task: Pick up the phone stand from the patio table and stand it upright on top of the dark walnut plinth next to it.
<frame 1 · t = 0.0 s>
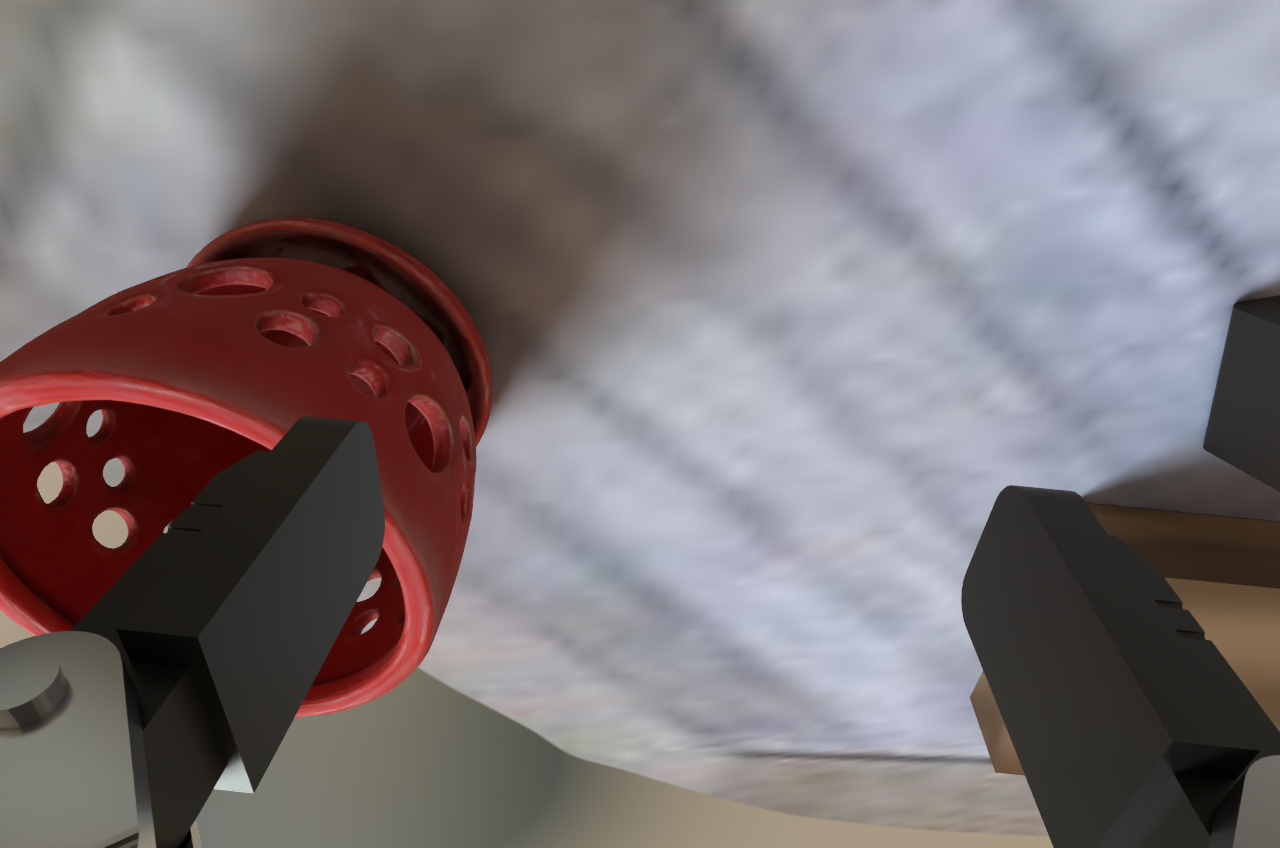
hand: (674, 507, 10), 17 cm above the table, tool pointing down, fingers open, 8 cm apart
plant pot: (360, 357, 29), on the table
walnut plinth: (1158, 624, 34), on the table
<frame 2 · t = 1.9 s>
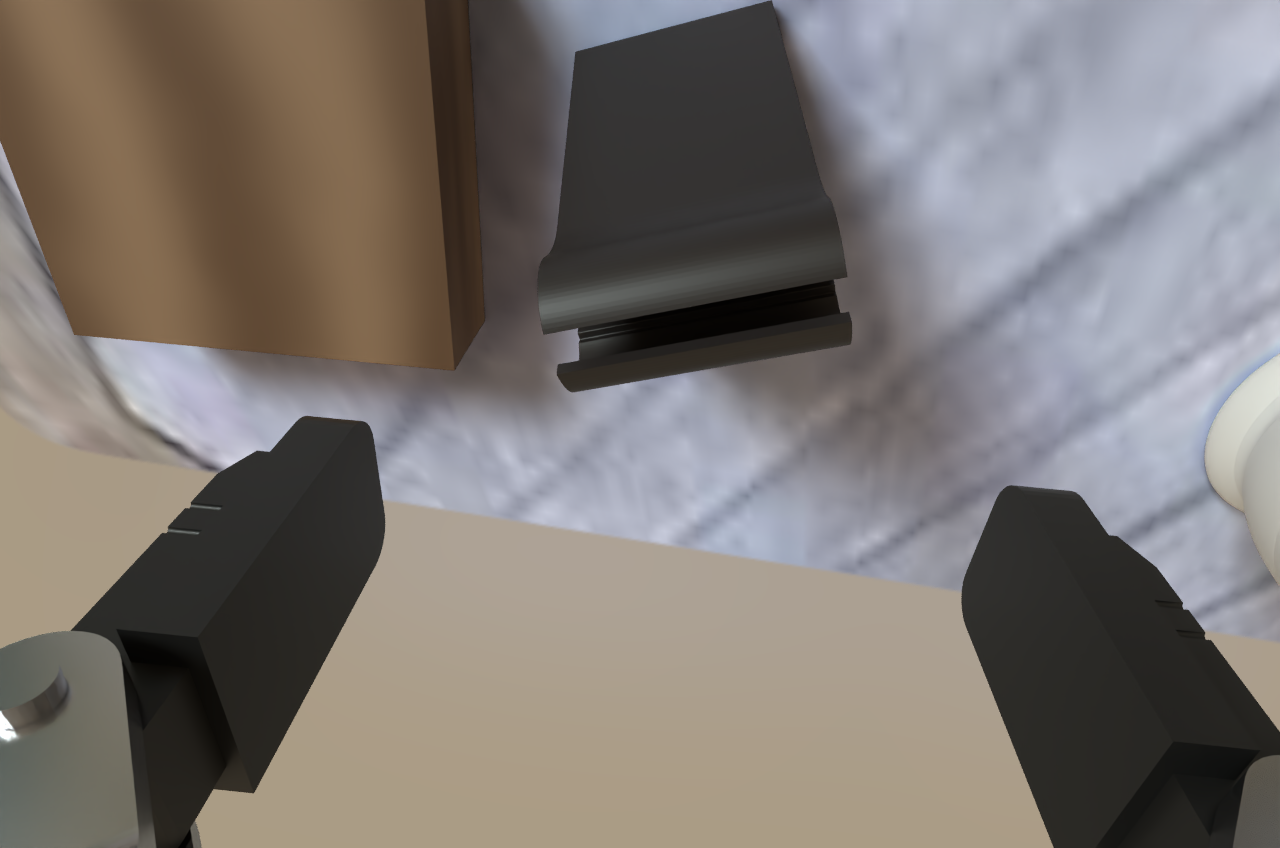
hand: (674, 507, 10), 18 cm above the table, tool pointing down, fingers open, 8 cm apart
phone stand: (700, 173, 25), on the table
walnut plinth: (282, 124, 25), on the table
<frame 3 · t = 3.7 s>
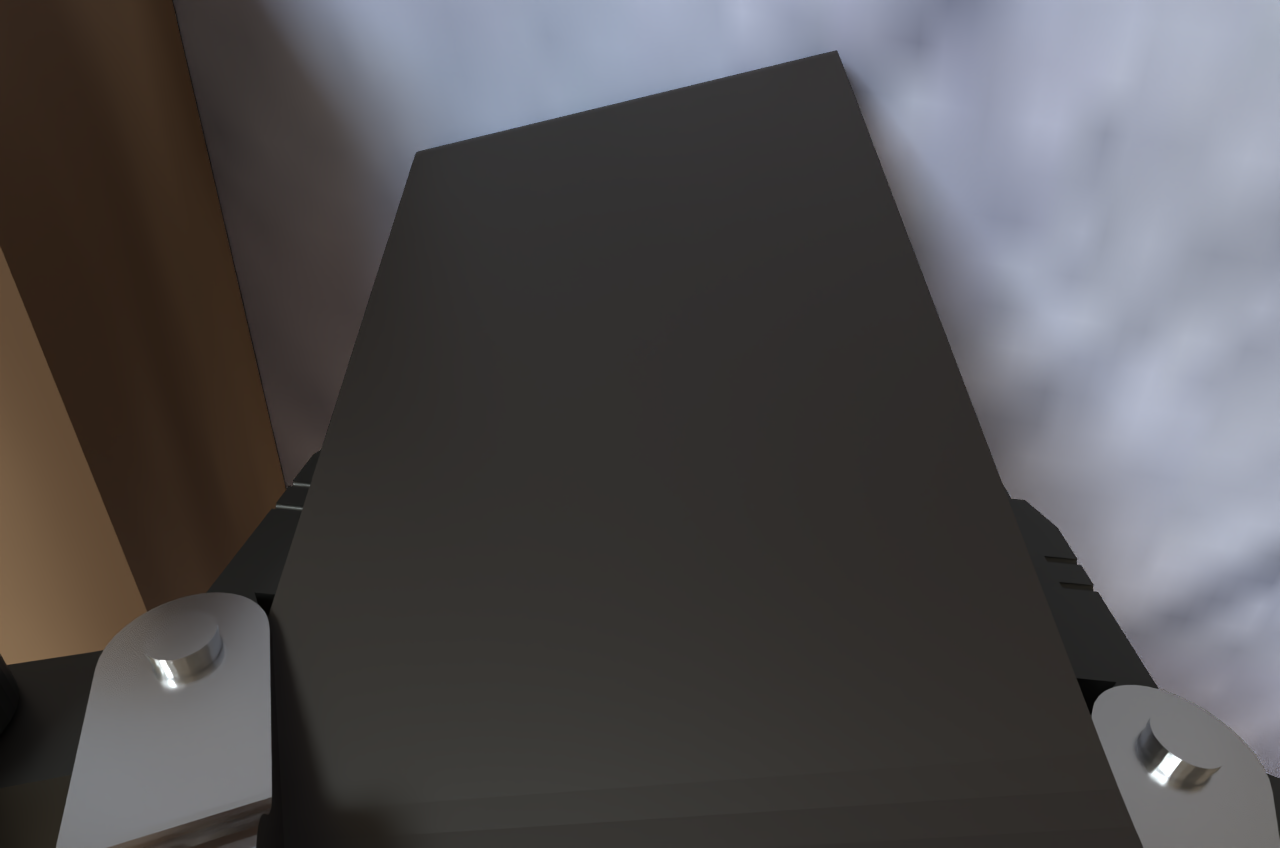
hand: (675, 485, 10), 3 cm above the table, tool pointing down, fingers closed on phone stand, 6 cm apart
phone stand: (681, 368, 13), on the table, touching gripper
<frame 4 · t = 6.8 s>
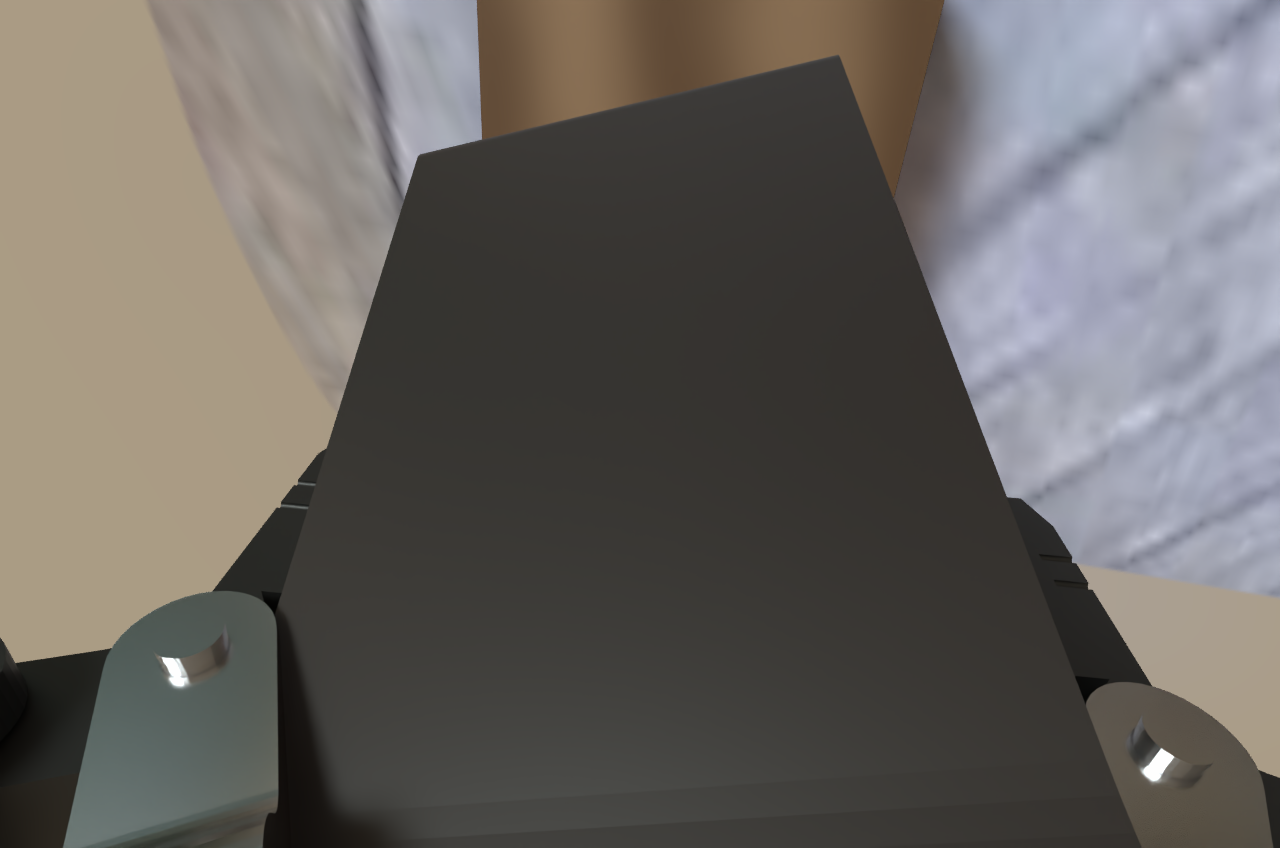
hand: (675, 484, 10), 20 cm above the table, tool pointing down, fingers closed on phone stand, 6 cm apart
phone stand: (683, 370, 13), point 17 cm above the table, touching gripper
walnut plinth: (689, 149, 27), on the table
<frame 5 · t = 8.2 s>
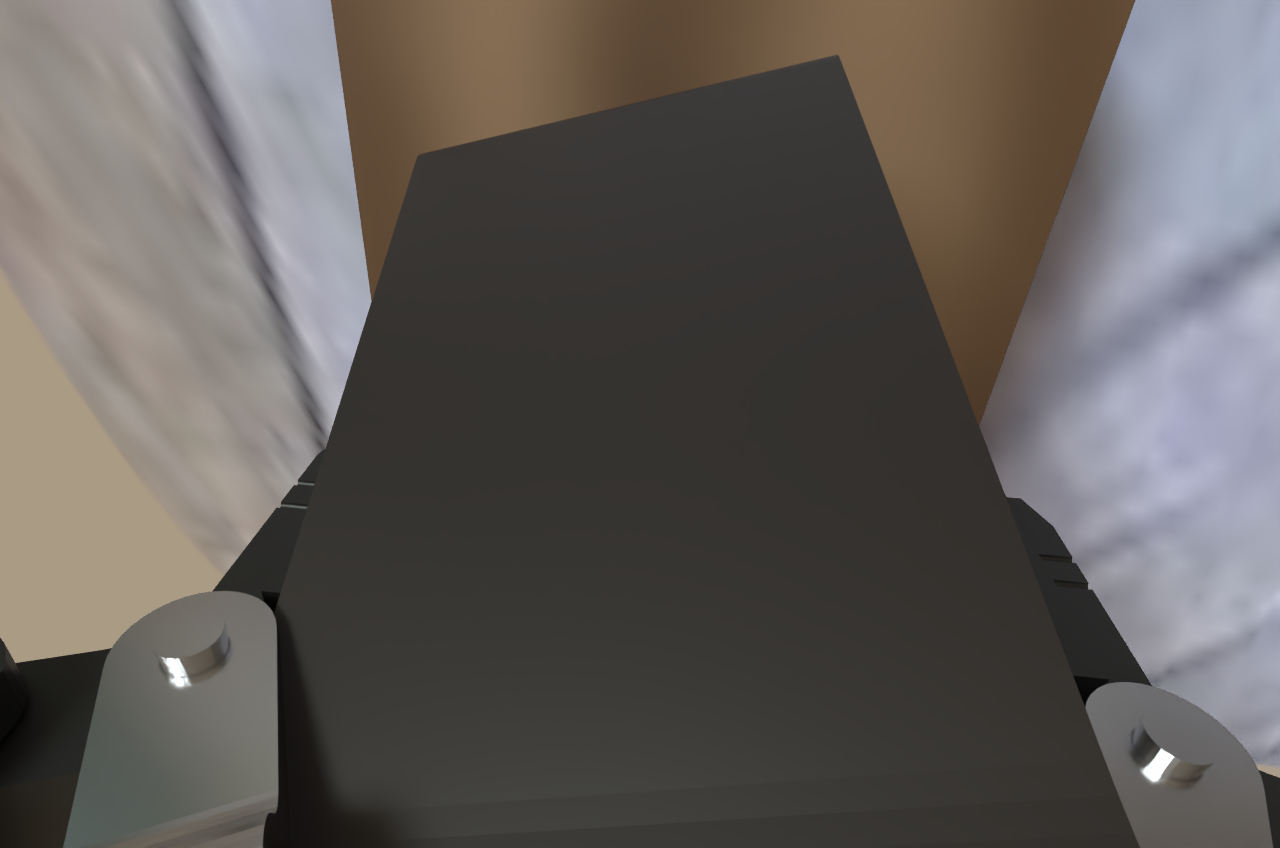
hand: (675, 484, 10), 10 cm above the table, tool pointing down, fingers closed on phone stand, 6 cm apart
phone stand: (682, 370, 13), point 6 cm above the table, touching gripper
walnut plinth: (688, 251, 18), on the table
when the fingers open (8 cm above the table, at t = 9.4 s): phone stand drops 1 cm, resting on walnut plinth.
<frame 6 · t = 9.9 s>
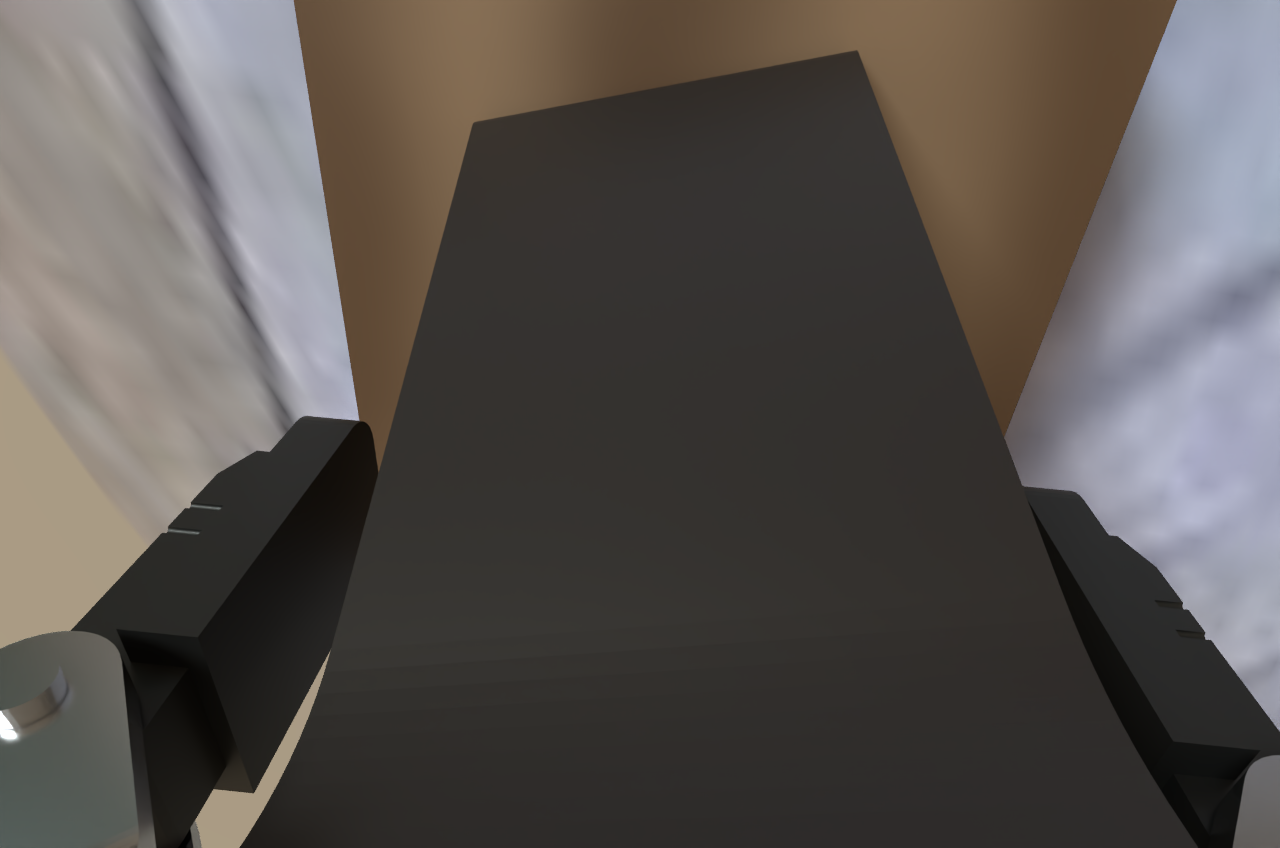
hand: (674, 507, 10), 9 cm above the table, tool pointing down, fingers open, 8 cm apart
phone stand: (698, 335, 14), point 4 cm above the table, touching walnut plinth
walnut plinth: (686, 263, 17), on the table
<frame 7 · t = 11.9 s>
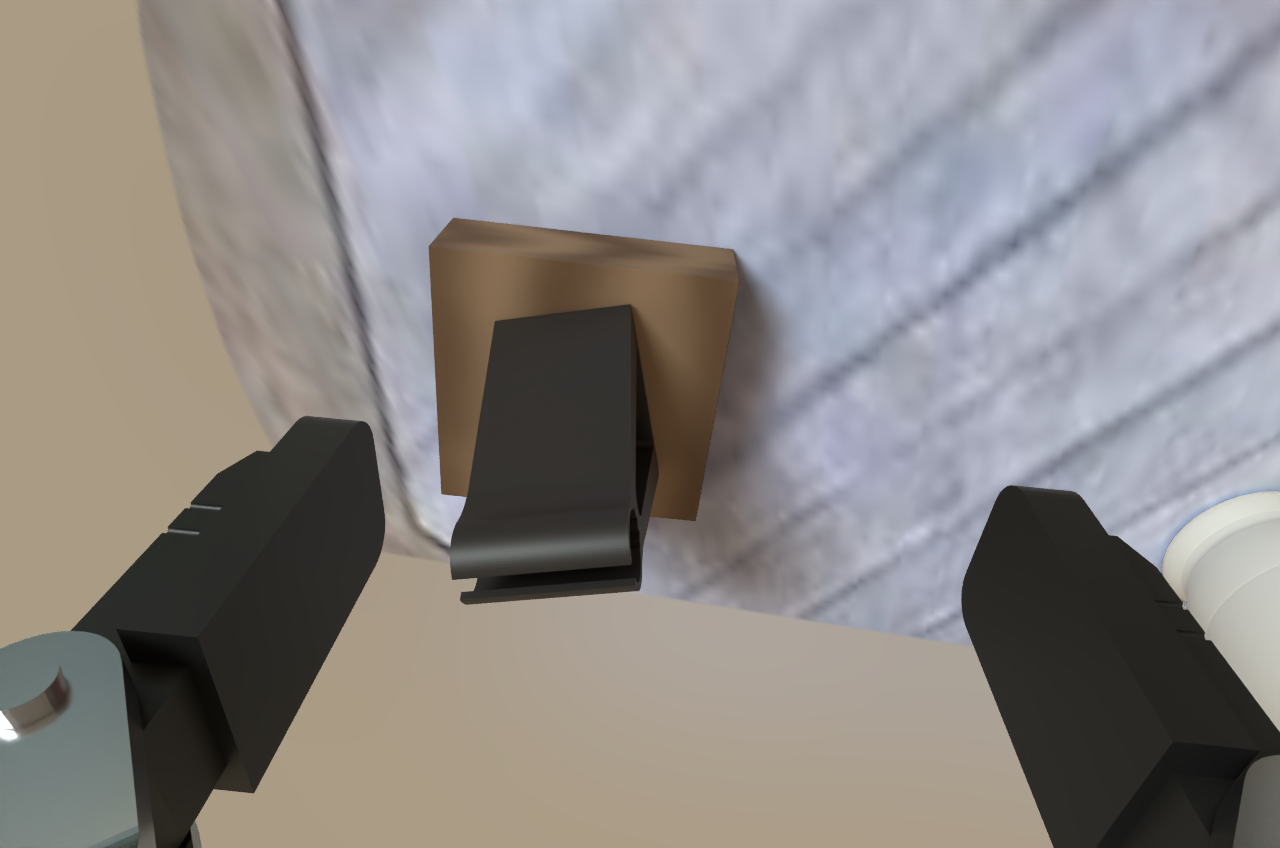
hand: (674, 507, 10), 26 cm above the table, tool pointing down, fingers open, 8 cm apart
jar: (1235, 544, 43), on the table
phone stand: (582, 396, 35), point 4 cm above the table, touching walnut plinth
walnut plinth: (585, 358, 38), on the table
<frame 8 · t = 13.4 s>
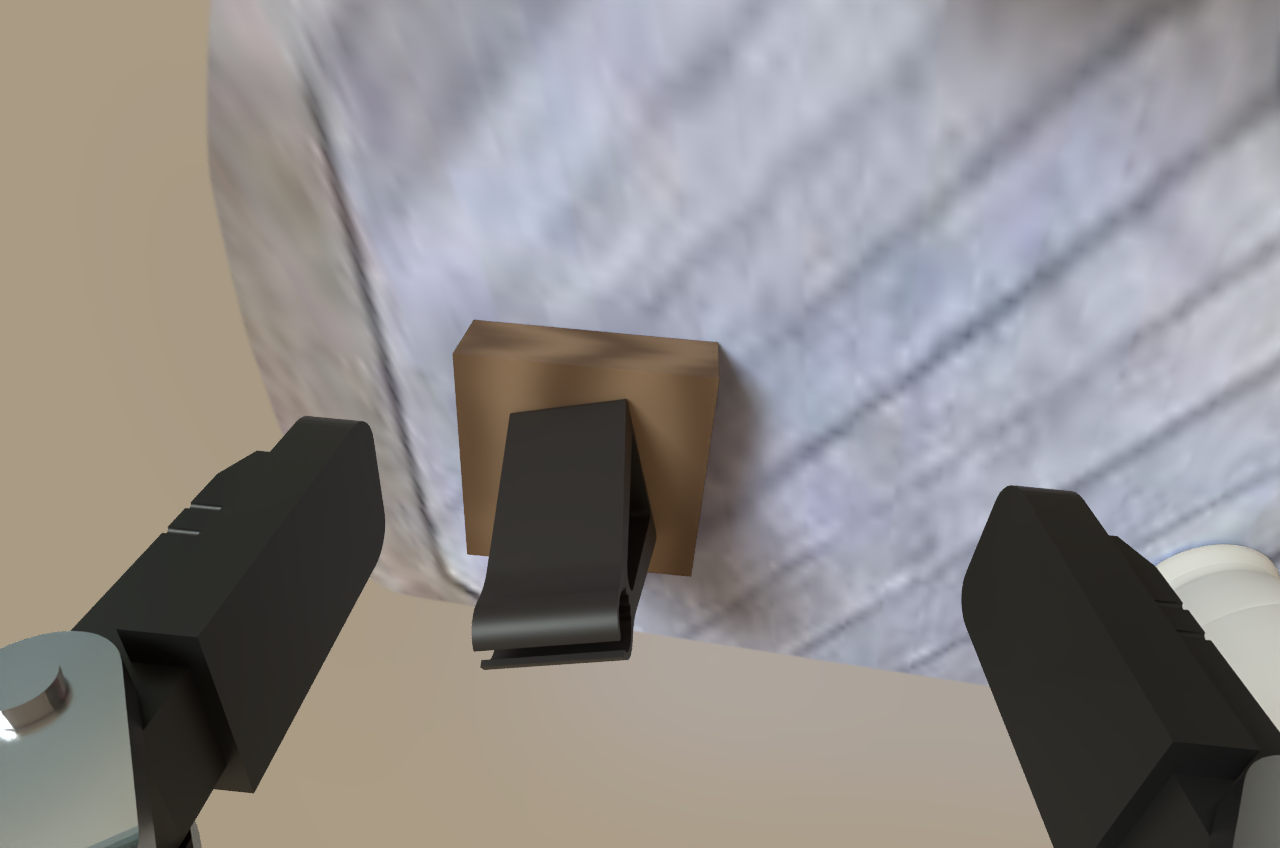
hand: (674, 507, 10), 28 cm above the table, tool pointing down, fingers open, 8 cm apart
jar: (1195, 590, 46), on the table
phone stand: (588, 473, 40), point 4 cm above the table, touching walnut plinth
walnut plinth: (591, 433, 43), on the table
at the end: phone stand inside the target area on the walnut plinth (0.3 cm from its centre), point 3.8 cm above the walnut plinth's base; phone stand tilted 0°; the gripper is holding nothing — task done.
